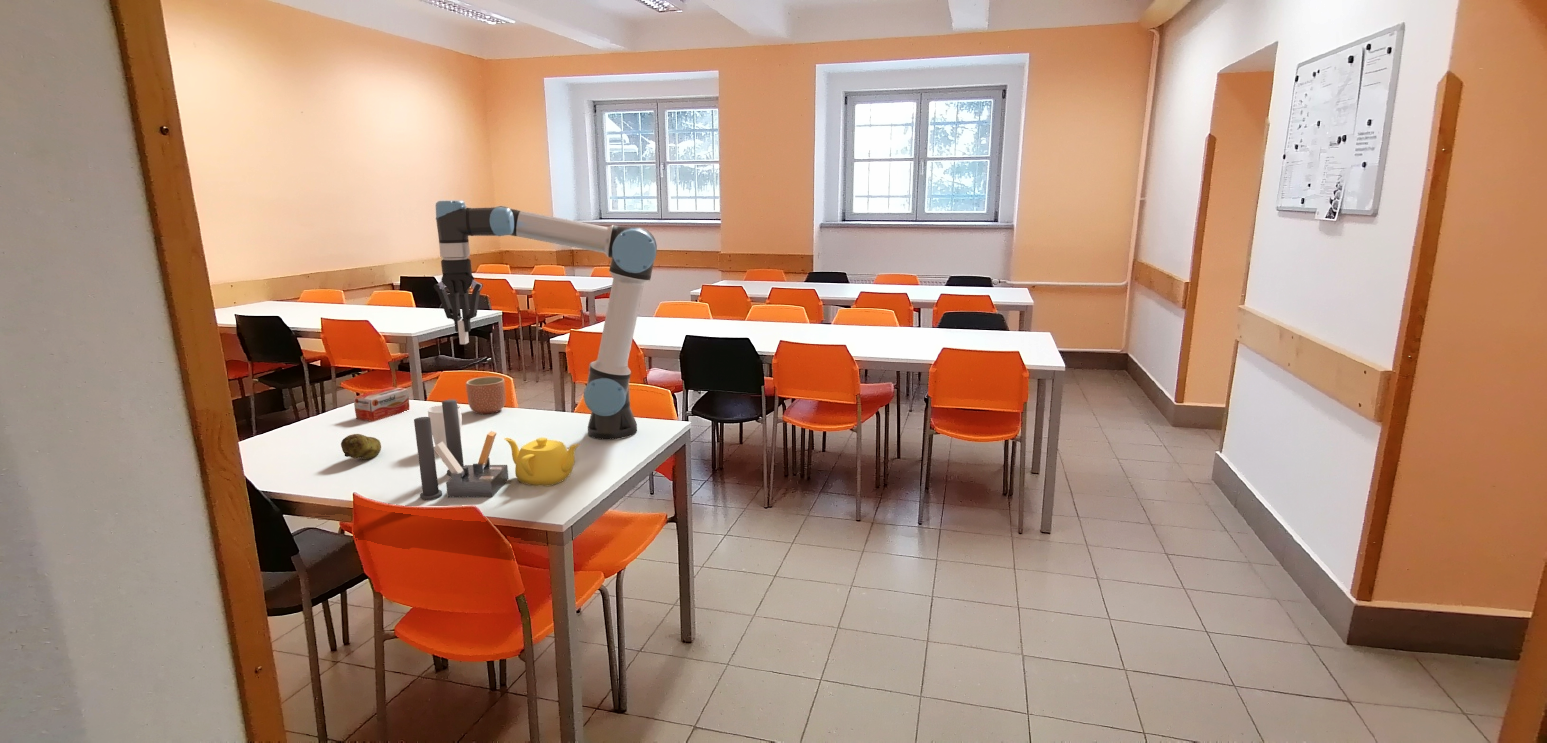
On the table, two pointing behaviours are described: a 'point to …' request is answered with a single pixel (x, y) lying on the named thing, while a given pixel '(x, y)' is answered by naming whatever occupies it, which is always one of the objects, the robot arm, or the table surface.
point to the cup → (440, 423)
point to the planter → (486, 394)
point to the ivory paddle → (448, 459)
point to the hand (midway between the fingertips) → (464, 343)
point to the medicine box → (381, 404)
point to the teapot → (542, 461)
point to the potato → (360, 446)
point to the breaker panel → (477, 481)
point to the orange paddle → (487, 448)
